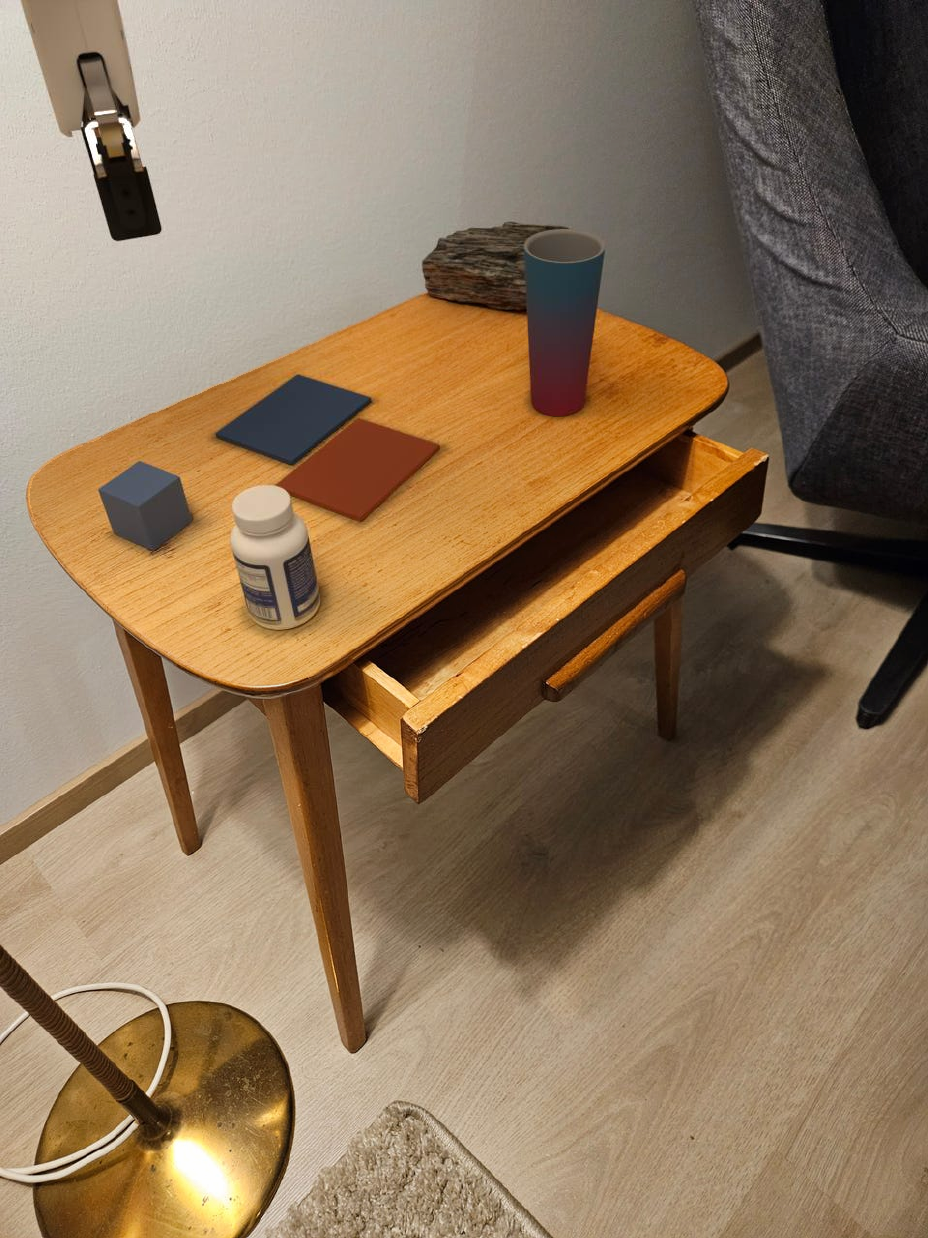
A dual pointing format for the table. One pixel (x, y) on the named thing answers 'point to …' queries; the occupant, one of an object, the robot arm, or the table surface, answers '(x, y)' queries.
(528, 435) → the table surface
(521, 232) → the rock
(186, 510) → the blue block
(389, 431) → the rust mat
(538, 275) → the cup
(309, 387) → the blue mat
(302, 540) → the pill bottle
